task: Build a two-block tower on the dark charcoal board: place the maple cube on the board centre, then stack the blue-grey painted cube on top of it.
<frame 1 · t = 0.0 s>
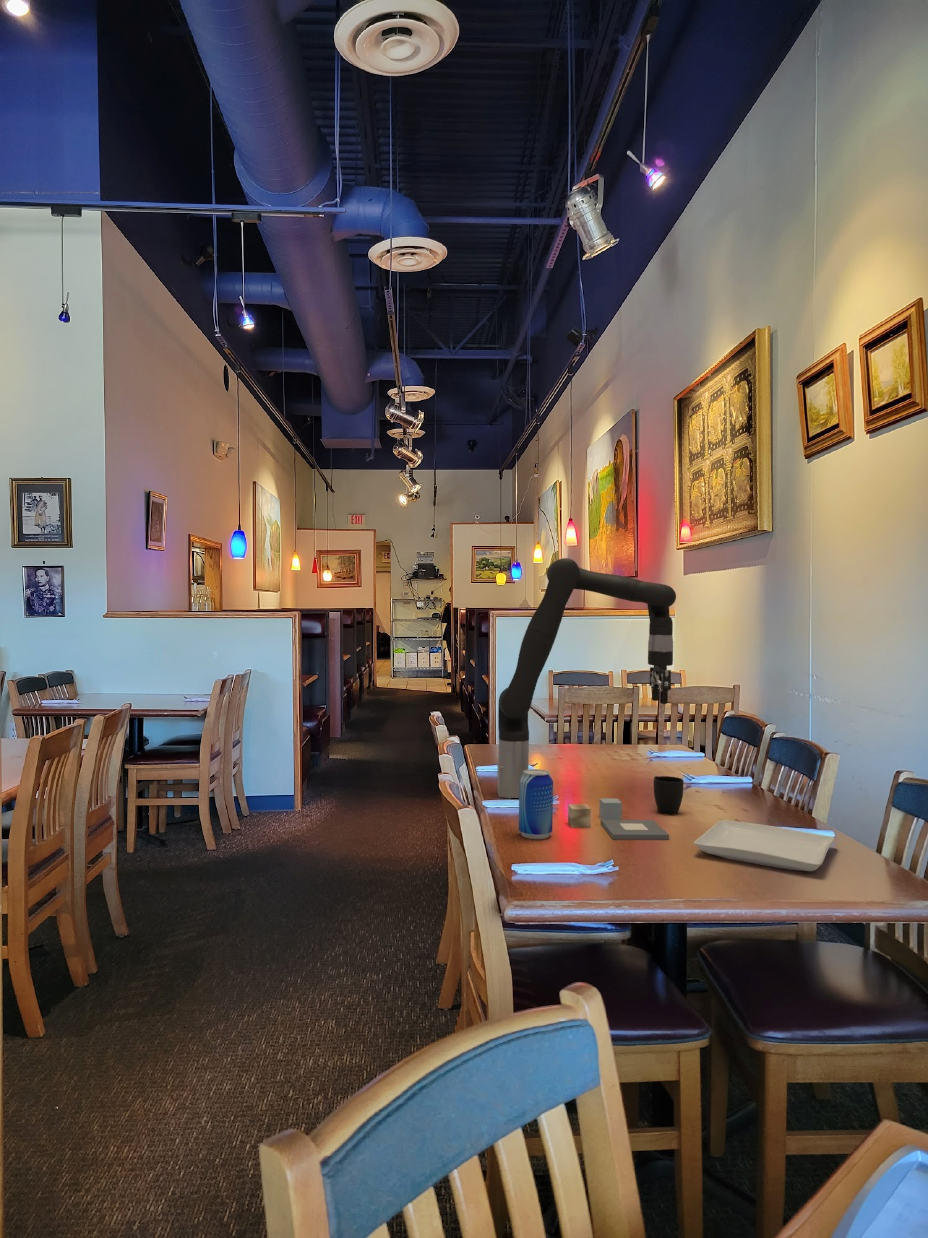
hand: (659, 702, 238), 29 cm above the table, tool pointing down, fingers open, 8 cm apart
bluegrey cube: (610, 819, 211), on the table
maple cube: (579, 825, 203), on the table
mug: (665, 811, 220), on the table
board: (633, 831, 198), on the table
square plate: (765, 855, 182), on the table
beer can: (535, 836, 193), on the table
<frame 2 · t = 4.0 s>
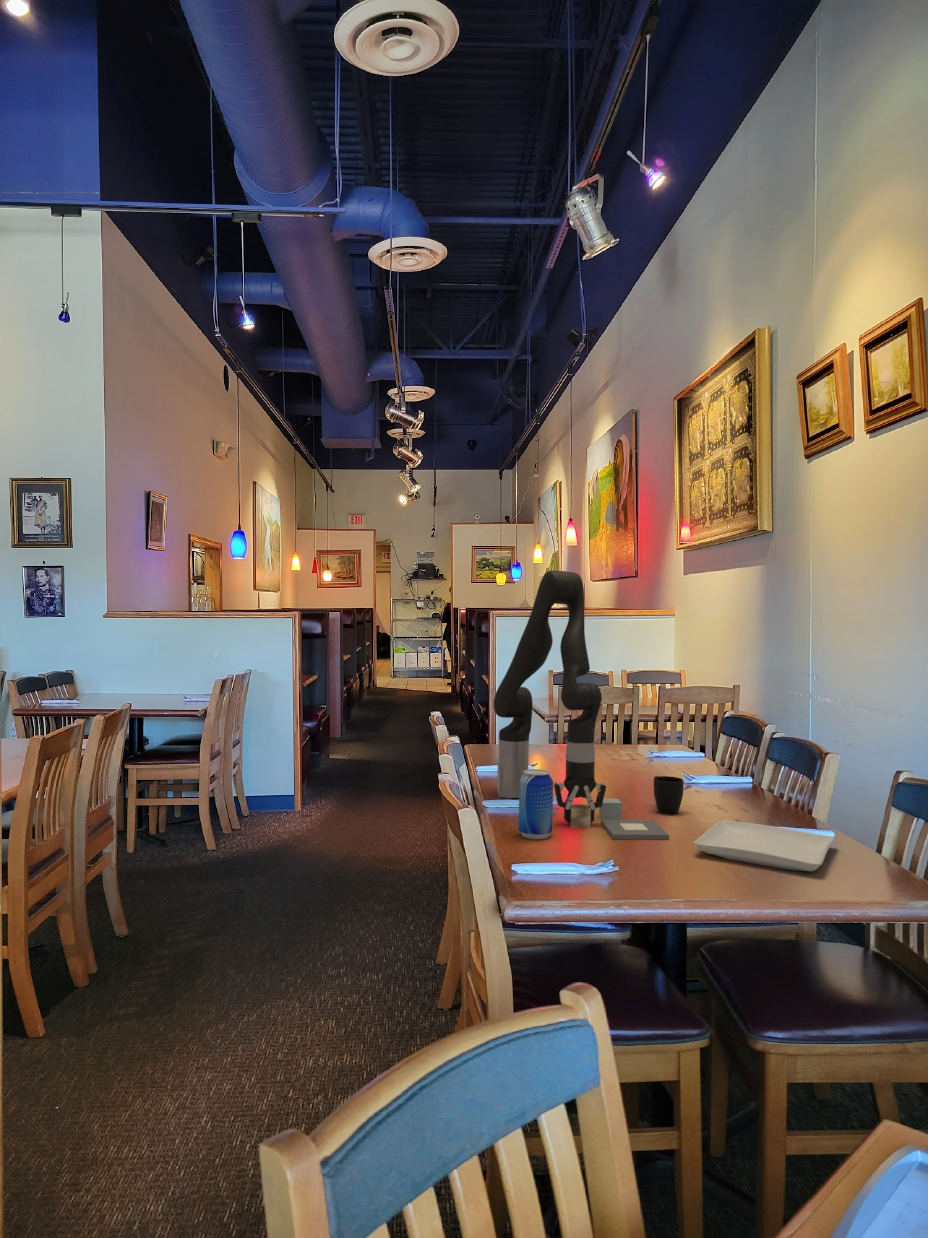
hand: (579, 822, 203), 1 cm above the table, tool pointing down, fingers closed on maple cube, 5 cm apart
maple cube: (579, 825, 203), on the table, touching gripper
everything else where it was.
when the fingers open (3 cm above the table, at t = 9.3 s): maple cube stays where it is, resting on board.
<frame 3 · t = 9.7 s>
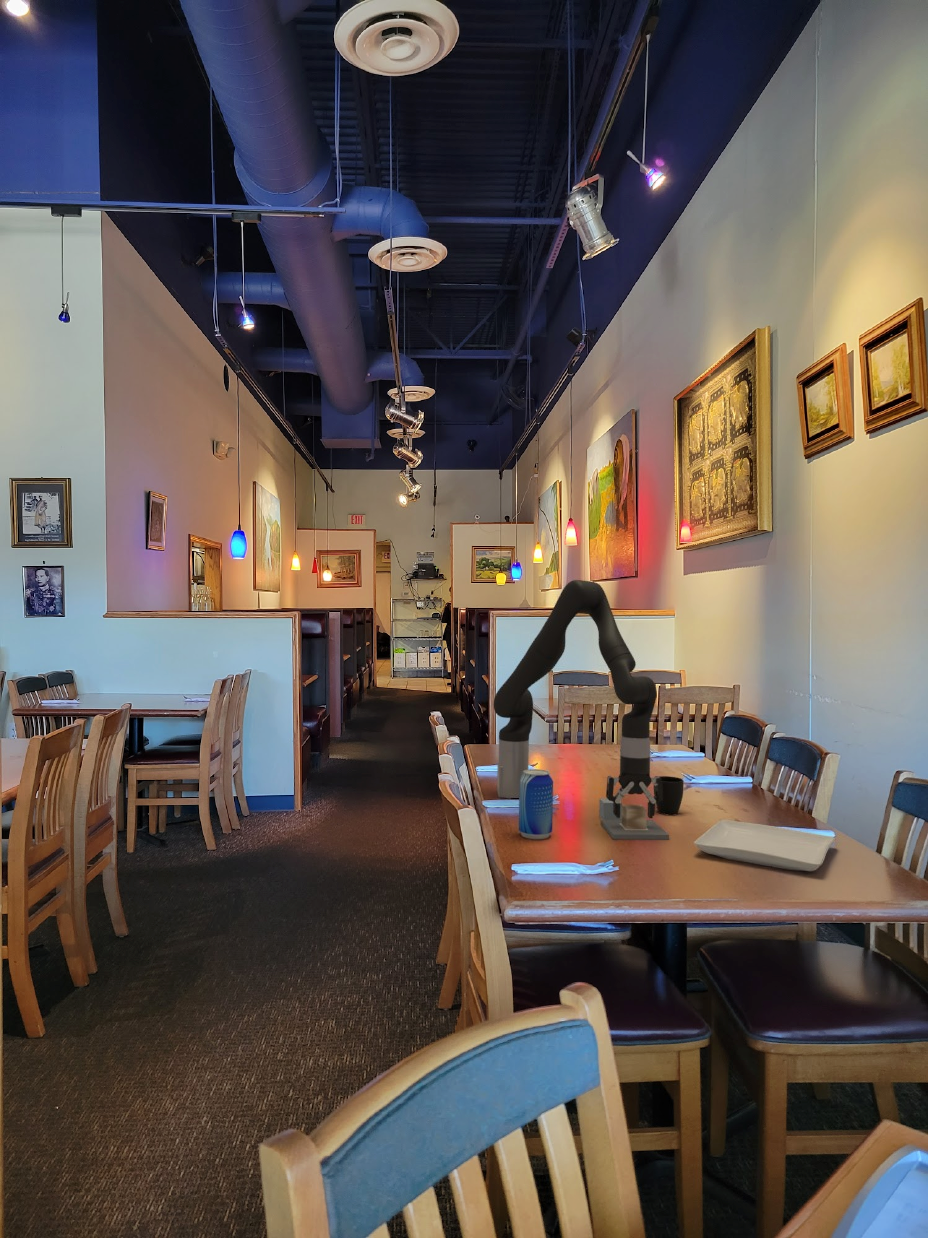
hand: (633, 817, 198), 4 cm above the table, tool pointing down, fingers open, 8 cm apart
maple cube: (633, 826, 198), point 1 cm above the table, touching board
everything else where it was.
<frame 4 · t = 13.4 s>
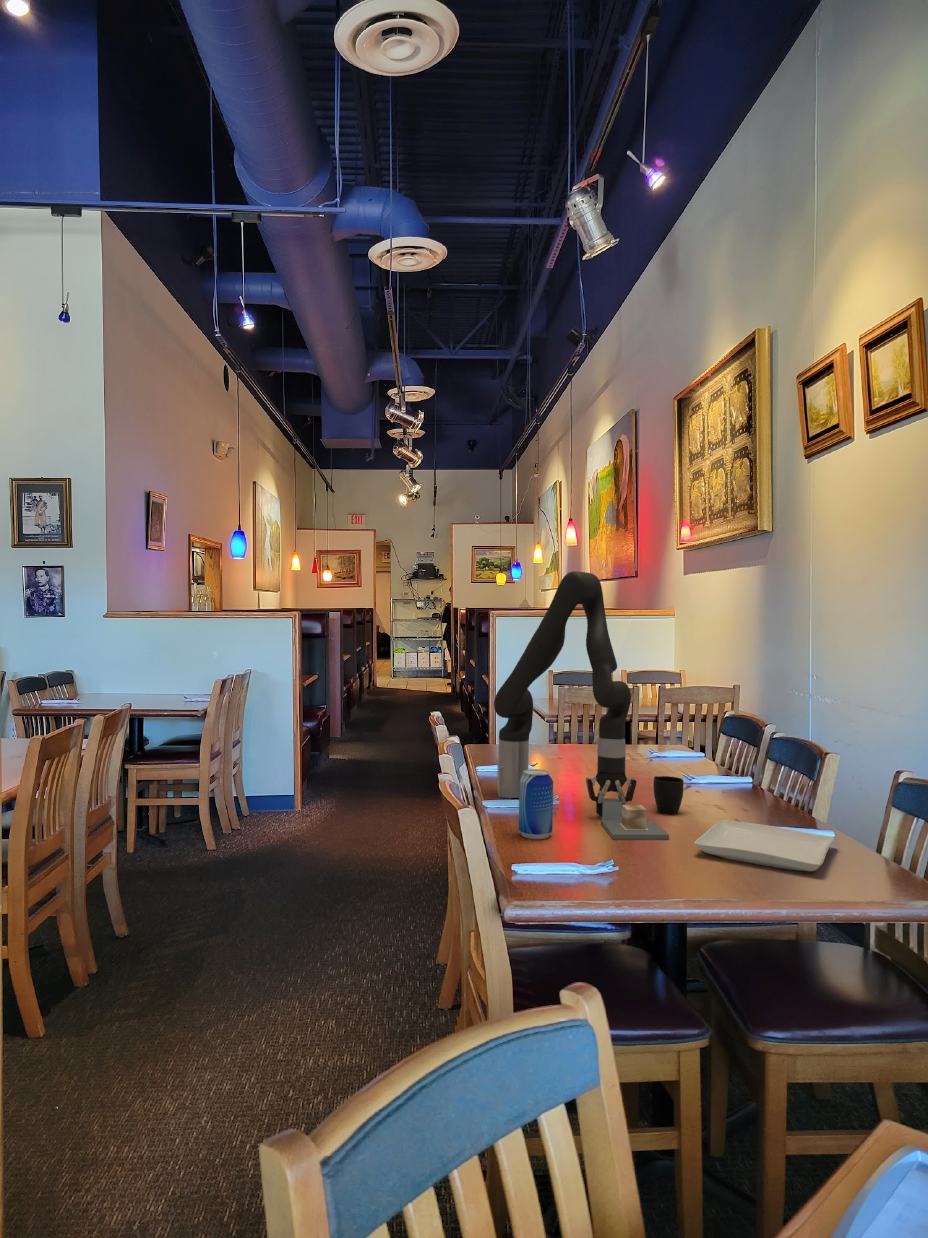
hand: (610, 816, 210), 1 cm above the table, tool pointing down, fingers closed on bluegrey cube, 5 cm apart
bluegrey cube: (610, 818, 210), on the table, touching gripper
everything else where it was.
when the fingers open (8 cm above the table, at t = 18.3 s): bluegrey cube stays where it is, resting on maple cube.
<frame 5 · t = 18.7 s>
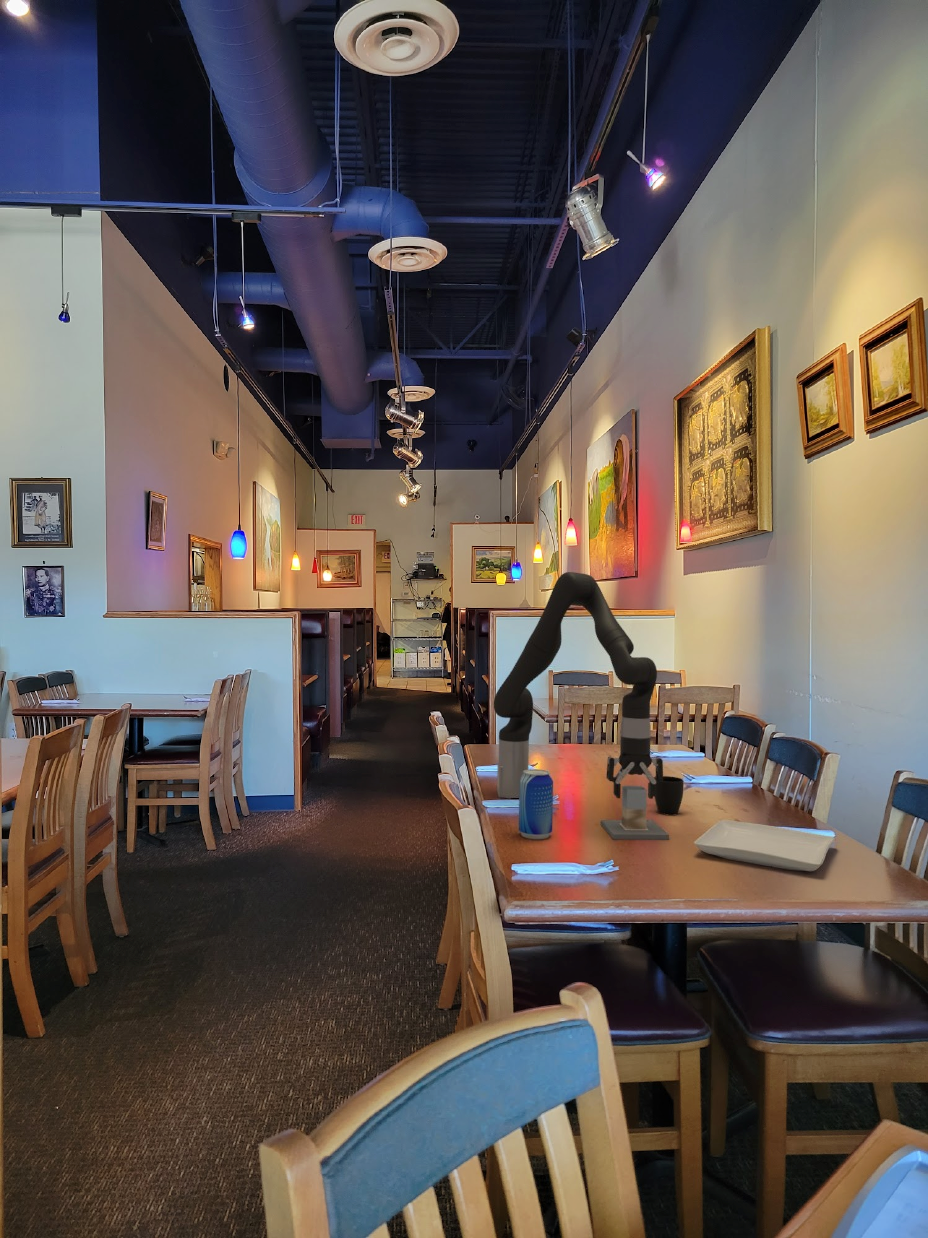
hand: (634, 798, 198), 9 cm above the table, tool pointing down, fingers open, 8 cm apart
bluegrey cube: (634, 807, 198), point 6 cm above the table, touching maple cube
maple cube: (633, 826, 198), point 1 cm above the table, touching bluegrey cube, board
everything else where it was.
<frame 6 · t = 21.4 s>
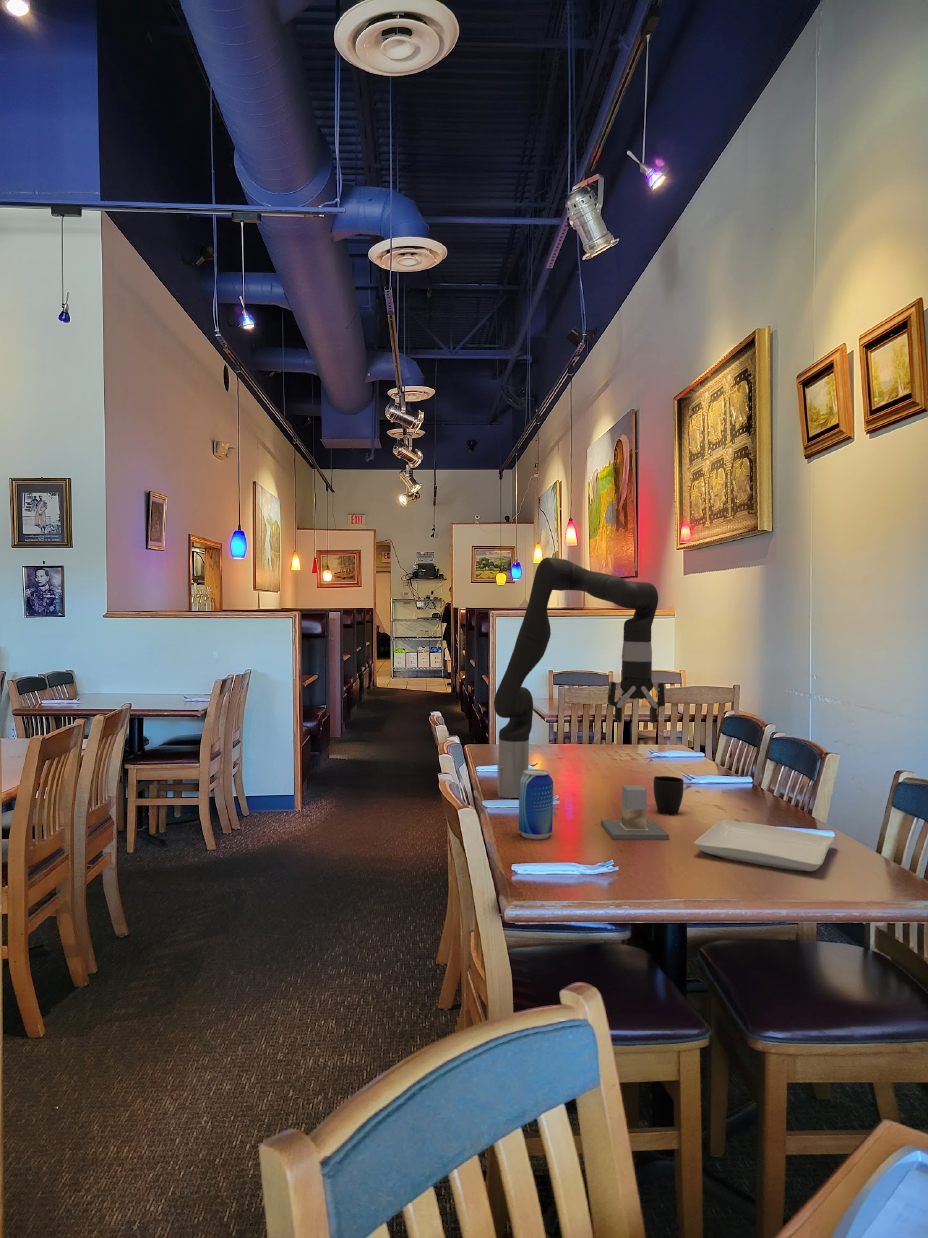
hand: (635, 722, 198), 28 cm above the table, tool pointing down, fingers open, 8 cm apart
nothing on the table moved.
at the end: maple cube inside the target area on the board (0.0 cm from its centre), point 1.3 cm above the board's base; bluegrey cube 0.1 cm off-centre on the maple cube, point 5.0 cm above the maple cube's base; the gripper is holding nothing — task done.
